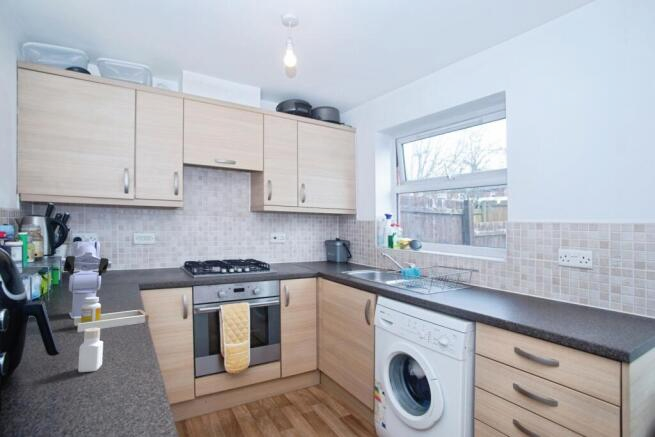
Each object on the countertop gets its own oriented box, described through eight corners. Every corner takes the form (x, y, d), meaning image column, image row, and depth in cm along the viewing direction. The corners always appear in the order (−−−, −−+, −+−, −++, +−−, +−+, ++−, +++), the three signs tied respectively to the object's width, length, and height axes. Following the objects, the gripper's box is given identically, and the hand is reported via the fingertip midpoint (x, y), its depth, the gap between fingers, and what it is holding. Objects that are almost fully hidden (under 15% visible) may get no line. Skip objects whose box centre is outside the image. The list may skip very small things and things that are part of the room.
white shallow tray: (74, 324, 116) (74, 317, 116) (140, 316, 130) (141, 309, 130) (77, 332, 109) (78, 324, 109) (148, 321, 122) (148, 315, 122)
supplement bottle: (96, 323, 119) (98, 295, 119) (102, 326, 115) (103, 297, 116) (78, 326, 115) (80, 297, 115) (83, 329, 111) (85, 300, 112)
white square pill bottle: (96, 371, 80) (99, 331, 80) (77, 373, 79) (79, 332, 79) (102, 365, 84) (104, 326, 84) (84, 366, 83) (86, 327, 83)
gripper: (64, 245, 118) (61, 259, 107) (112, 249, 127) (114, 262, 116) (60, 264, 119) (57, 280, 108) (108, 266, 128) (110, 281, 117)
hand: (86, 272), depth 112 cm, fingers open, 7 cm apart
